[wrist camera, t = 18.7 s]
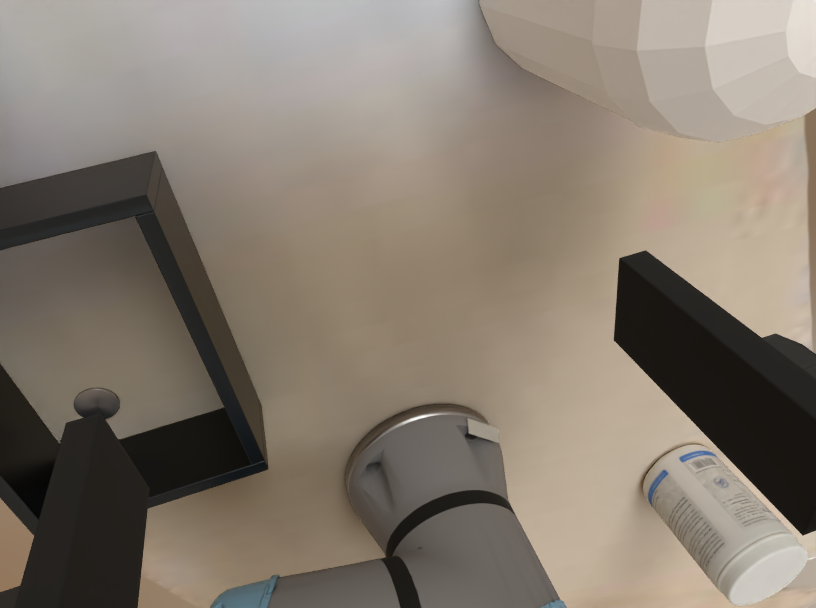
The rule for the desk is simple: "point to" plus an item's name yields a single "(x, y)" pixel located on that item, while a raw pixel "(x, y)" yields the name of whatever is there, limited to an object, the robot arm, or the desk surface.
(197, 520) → the desk surface
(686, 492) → the supplement tub
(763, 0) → the container
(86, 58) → the desk surface
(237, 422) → the black open box
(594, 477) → the desk surface
